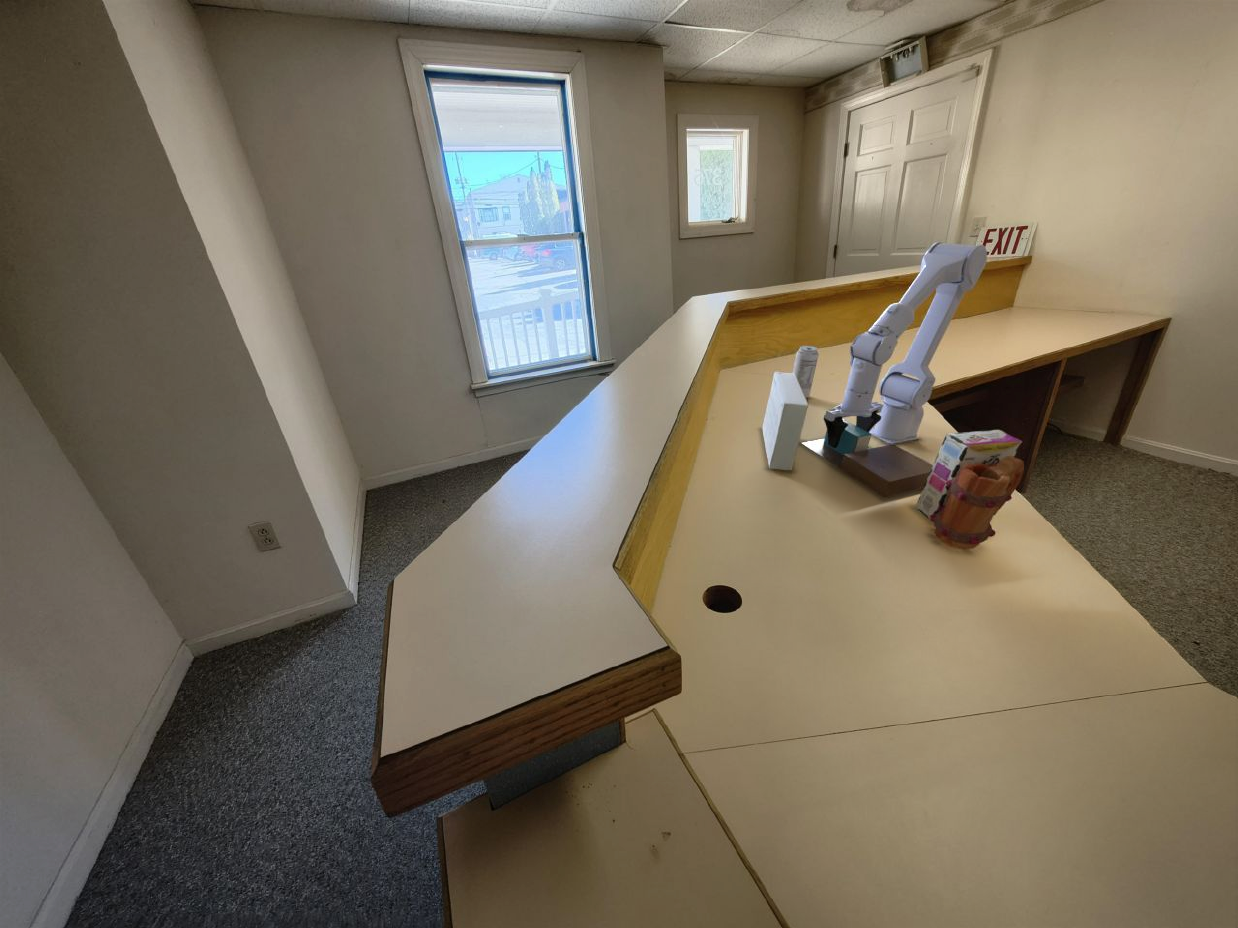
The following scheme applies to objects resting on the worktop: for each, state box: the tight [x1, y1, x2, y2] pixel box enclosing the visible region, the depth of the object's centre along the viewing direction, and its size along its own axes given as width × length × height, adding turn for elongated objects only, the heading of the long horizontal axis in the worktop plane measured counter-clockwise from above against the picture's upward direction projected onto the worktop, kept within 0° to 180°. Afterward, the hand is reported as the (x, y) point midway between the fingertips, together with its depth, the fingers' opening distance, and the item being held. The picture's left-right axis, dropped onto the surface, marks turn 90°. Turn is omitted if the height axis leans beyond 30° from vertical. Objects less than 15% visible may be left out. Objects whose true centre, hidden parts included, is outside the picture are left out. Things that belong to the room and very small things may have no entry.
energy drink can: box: [792, 345, 820, 400], centre depth 134 cm, size 6×6×15 cm
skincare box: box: [761, 371, 809, 471], centre depth 105 cm, size 21×6×16 cm, turn 168°
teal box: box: [823, 418, 873, 456], centre depth 106 cm, size 4×9×6 cm, turn 19°
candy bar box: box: [914, 429, 1023, 522], centre depth 83 cm, size 11×5×16 cm, turn 100°
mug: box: [930, 456, 1025, 551], centre depth 77 cm, size 15×8×15 cm, turn 114°
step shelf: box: [801, 437, 933, 498], centre depth 102 cm, size 14×25×4 cm, turn 19°
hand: (845, 443), depth 107 cm, fingers open, 7 cm apart
